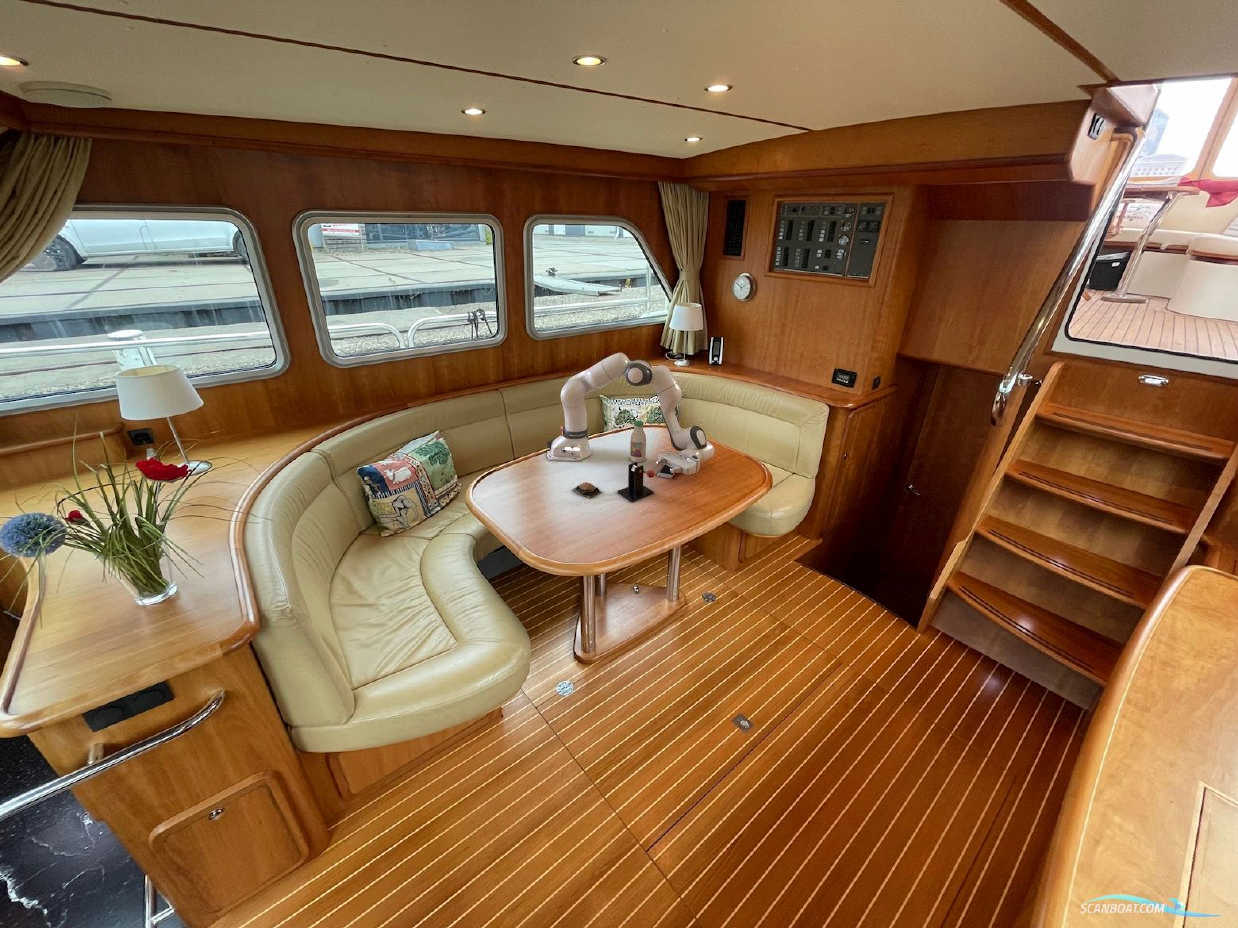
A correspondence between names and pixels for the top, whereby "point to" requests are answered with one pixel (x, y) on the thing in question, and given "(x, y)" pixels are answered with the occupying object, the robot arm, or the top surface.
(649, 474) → the lever
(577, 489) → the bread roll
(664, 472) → the smartphone
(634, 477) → the bracket
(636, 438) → the milk bottle
